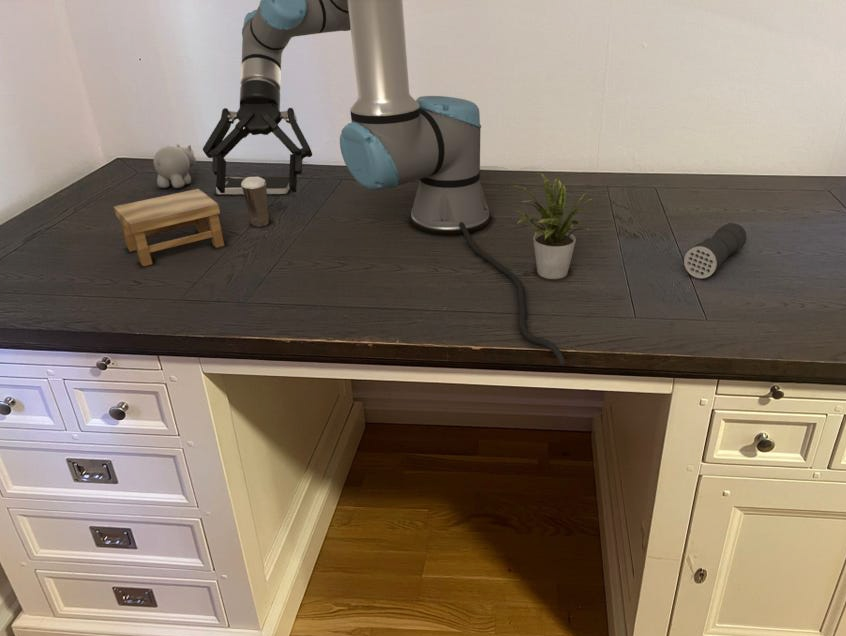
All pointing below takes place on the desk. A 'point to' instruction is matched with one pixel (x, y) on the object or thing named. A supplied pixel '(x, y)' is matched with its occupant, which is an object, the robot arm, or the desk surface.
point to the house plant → (553, 233)
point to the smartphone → (272, 183)
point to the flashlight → (714, 250)
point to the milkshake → (256, 200)
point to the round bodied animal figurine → (174, 165)
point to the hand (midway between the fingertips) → (256, 189)
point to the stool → (169, 221)
